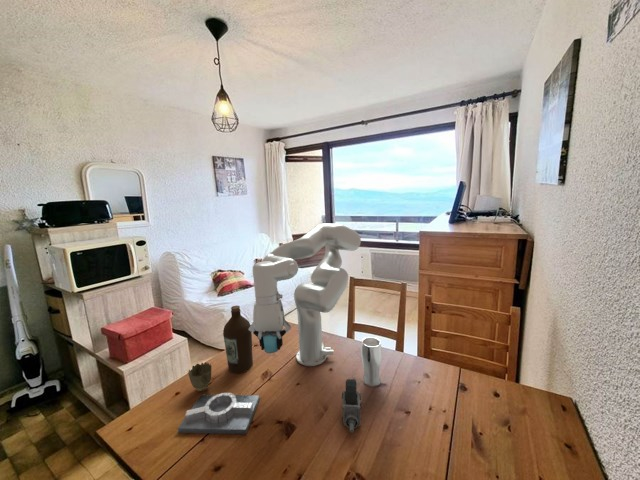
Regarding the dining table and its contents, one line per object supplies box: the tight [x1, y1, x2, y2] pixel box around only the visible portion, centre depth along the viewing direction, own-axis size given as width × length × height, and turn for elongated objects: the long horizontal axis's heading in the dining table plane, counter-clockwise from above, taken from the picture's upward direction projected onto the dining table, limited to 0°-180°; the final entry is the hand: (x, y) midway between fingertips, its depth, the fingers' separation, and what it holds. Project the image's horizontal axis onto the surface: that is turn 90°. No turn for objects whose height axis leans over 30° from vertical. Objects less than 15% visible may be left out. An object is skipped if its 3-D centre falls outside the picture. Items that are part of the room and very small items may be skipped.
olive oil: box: [222, 305, 254, 374], centre depth 103 cm, size 11×11×25 cm
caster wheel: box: [341, 378, 362, 434], centre depth 77 cm, size 6×10×15 cm
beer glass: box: [360, 336, 382, 387], centre depth 92 cm, size 7×7×15 cm
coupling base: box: [177, 392, 260, 435], centre depth 80 cm, size 20×13×4 cm, turn 86°
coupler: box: [261, 331, 279, 354], centre depth 90 cm, size 5×5×7 cm
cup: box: [187, 362, 212, 393], centre depth 92 cm, size 8×7×8 cm
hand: (271, 347), depth 91 cm, fingers closed on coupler, 5 cm apart
